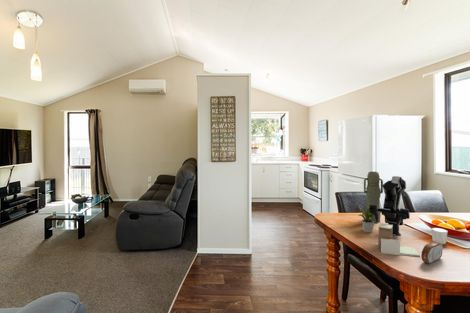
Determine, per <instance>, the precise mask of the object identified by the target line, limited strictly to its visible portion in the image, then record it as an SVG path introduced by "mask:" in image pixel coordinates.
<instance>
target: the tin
mask: <svg viewBox="0 0 470 313" xmlns="http://www.w3.org/2000/svg"><path fill="white" fill-rule="evenodd" d="M443 248H444V244H441V243H439V242H436V241H433V240H432V241H431V242H429V243H426V244H424V245H423V248H422V250H421V255H420V258H421V261H422V262H425V263H428V264H433V263H435V262H436V261H439V260H440V259H441V257H442V256H443Z"/></svg>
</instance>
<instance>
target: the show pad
mask: <svg viewBox="0 0 470 313" xmlns="http://www.w3.org/2000/svg"><path fill="white" fill-rule="evenodd" d="M400 255H402V256H408V255H410V257H418V258H421V255H420V253H419V252H418V251H417V250H416V248H415V247H409V246H401V245H400ZM400 255H399V256H400Z"/></svg>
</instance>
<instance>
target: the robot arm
mask: <svg viewBox="0 0 470 313" xmlns="http://www.w3.org/2000/svg"><path fill="white" fill-rule="evenodd" d="M406 189H407V182H406V180H404V179H403V178H402V176H396V175H394V176H391V179H390V180H387V181H386V182H383V194H384V201H383V204H382V205H383V207H382V208H381V207H380V208H378V206H377V205H370V206H369V210H370V213H371V214H373V215H375V218H376V222H377V223H376V224H378V223H379V222H378V211H379V212H380V213H381V215H382V216H383V217H384V224H389V225H393V236H402V234H401V233H400V226H403V225H404V220H408V219H410V218H411V216H410V215H411V214H410V209H408V208H401V207H400V204H401V203H400V202H401V196H402V194H405V190H406Z"/></svg>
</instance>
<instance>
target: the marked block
mask: <svg viewBox="0 0 470 313" xmlns="http://www.w3.org/2000/svg"><path fill="white" fill-rule="evenodd" d="M393 236H394V235H393V225H389V224H388V223H380V222H379V225H378V250H379V251H381V238H382V239H392V240H394V239H393Z"/></svg>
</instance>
